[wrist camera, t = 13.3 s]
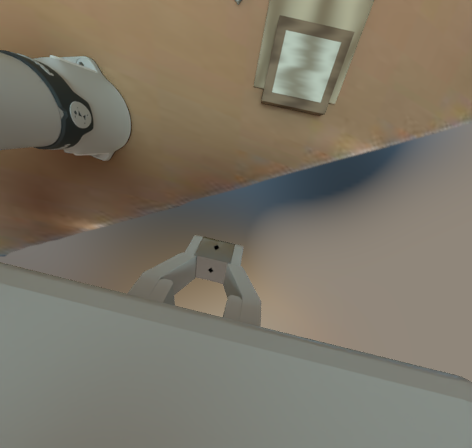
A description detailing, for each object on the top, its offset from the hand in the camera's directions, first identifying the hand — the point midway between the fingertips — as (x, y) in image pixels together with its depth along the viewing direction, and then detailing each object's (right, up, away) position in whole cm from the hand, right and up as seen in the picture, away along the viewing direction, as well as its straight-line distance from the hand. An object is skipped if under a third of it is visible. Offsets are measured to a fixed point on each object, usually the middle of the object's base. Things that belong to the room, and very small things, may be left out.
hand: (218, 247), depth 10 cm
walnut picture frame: (+12, +24, +22) cm, 35 cm away
